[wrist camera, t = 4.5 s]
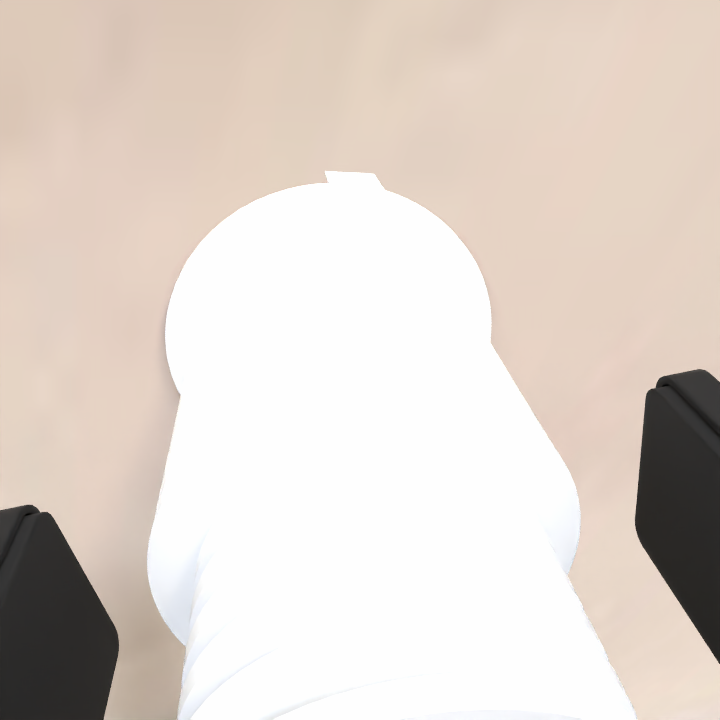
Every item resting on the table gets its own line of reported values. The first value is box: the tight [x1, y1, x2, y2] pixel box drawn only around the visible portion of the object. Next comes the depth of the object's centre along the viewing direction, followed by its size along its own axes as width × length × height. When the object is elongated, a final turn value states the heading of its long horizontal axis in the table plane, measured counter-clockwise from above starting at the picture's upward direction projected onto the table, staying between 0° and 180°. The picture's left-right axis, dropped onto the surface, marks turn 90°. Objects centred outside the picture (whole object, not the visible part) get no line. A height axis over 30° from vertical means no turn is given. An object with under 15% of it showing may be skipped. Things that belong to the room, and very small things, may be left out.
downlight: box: [147, 171, 637, 720], centre depth 10 cm, size 8×7×10 cm
